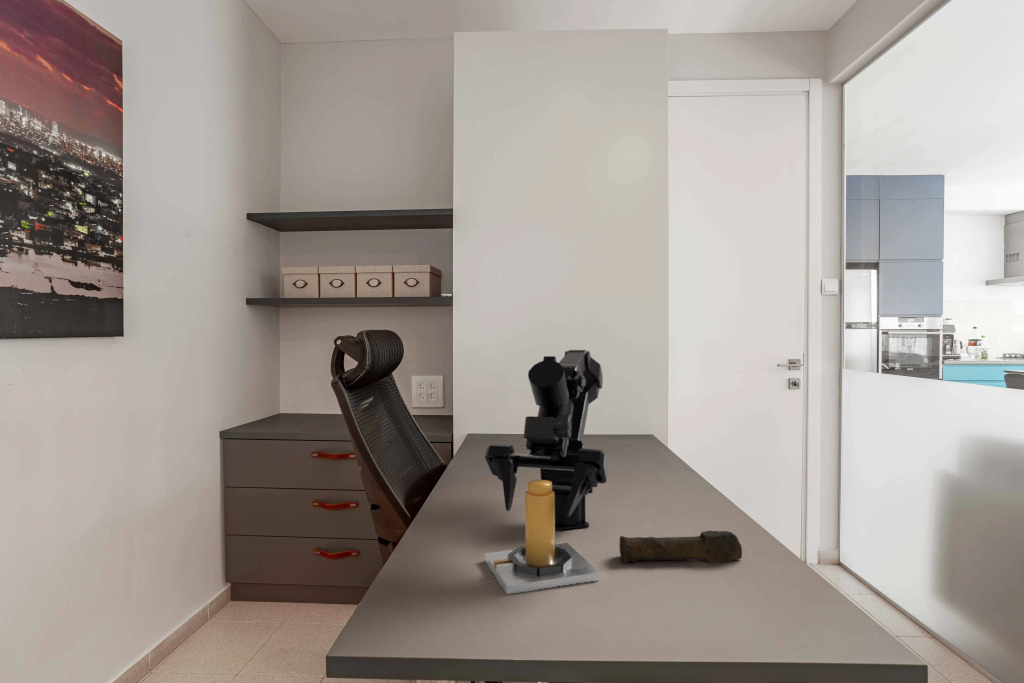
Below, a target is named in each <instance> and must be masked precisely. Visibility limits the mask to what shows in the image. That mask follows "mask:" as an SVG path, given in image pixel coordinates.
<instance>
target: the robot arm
mask: <svg viewBox="0 0 1024 683" xmlns="http://www.w3.org/2000/svg"><path fill="white" fill-rule="evenodd" d="M591 356H592V355H591V352H590V350H589V351H588V350H587V349H568V350H565V352H564V356H563V357H562V359H561V360H560V361H559V362H557V361H558V360H557V358H556V355H555V356H553V355H549V356H547V355H546V356H543V359H542V360H541V361H539V362H537V363H536V364H534V365H533V366H532V367H531V368H530V369H529V370H528V372H527V377H528V381H529V384H530V388H531V390H532V396H533V398H534V403H535V404H536V406H538V412H537V416H525V419H524V420H525V421H524V428H523V429H524V430H523V439H525V440H526V442H525V443H526V444H525V447H526V449H527V450H529V454H528V453H516V452H515V450H514V446H513V444H501V443H492V444H490V445H489V446H488V447H487V448H486V451H485V455H484V458H485V461H486V463H487V465H488V467H489V470H490V472H491V475H493V476H495V477H497V479H498V480H499V481H502V487H503V488H502V489H503V498H504V506H505V511H506V512H510V510H511V509H512V505H513V501H514V497H515V489H516V484H517V480H518V479H517V476H516V474H517V472H518V468H519V467H521V468H534V469H536V468H537V469H540V480H547V481H550V482H552V491H554V492H555V531H563V530H571V529H579V528H588V527H589V528H590V523H589V522H588V521H587V520H586V496H588V494H592V493H594V489H593V488H597V487H598V484H606V483H607V481H608V464H607V458H606V453H605V452H604V450H603V449H596V448H595V449H594V448H584V445H583V439H584V434H585V428H586V422H587V416H588V411H589V405H590V404H591V403H593V402H594V401H595V400H596V399H598V397H599V393H600V390H601V389H602V388H603V382H604V381H603V380H604V378H603V377H604V376H603V371H602V366H601V364H600V363H599V362H598V361H597V360H595V359H594V358H593V357H591Z"/></svg>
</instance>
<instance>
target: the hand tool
mask: <svg viewBox="0 0 1024 683" xmlns="http://www.w3.org/2000/svg"><path fill="white" fill-rule="evenodd" d="M619 554H620V560H621V562H623V563H624V564H625V563H627V562H633V563H637V561H654V560H657V561H658V560H662V561H663V560H666V561H668V560H702V562H703V561H704V562H705V563H707V564H718V563H719V564H720V563H724V562H725V563H726V562H733V561H737V560H741V559H742V557H743V556H742V554H743V547H742V544H741V543H740V541H739V539H738V536H737V535H736V534H734V533H733V532H732V531H728V530H721V531H719V530H706V531H705V530H704V531H701V532H700V535H699V536H671V537H670V536H668V537H654V536H649V537H642V536H641V537H640V536H639V537H638V536H637V537H636V536H635V537H627V536H623V535H620V536H619Z"/></svg>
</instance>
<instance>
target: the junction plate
mask: <svg viewBox="0 0 1024 683" xmlns="http://www.w3.org/2000/svg"><path fill="white" fill-rule="evenodd" d="M485 561H486V562H485ZM484 562H485V564H486V563H487V564H488V565H487V564H486V565H487V567H488V566H489V567H488V569H489V570H490V569H491V570H490V572H491V573H492V572H493V573H492V575H493V574H494V575H495V576H494V575H493V576H494V578H495V577H496V578H497V579H496V578H495V579H496V581H497V580H498V581H499V582H498V581H497V582H498V584H499V583H500V584H499V585H500V587H501V586H502V587H503V588H502V587H501V588H502V590H503V589H504V590H503V591H504V593H505V594H506V595H512V594H518V593H520V594H521V593H525V592H527V593H528V592H533V591H539V589H540V590H546V589H545V588H547V589H553V588H558V587H557V586H560V587H564V586H563V585H567V586H570V585H569V584H573V585H577V584H576V583H580V584H585V582H587V583H592V582H591V581H593V582H599V580H600V581H601V579H600V578H601V575H600V574H601V573H600V571H599V570H598V569H597V568H596V567H595V566H593V565H592V564H591V563H590V562H589V561H588V560H587V559H585V558H584V556H582V555H581V554H580V553H579V552H578V551H576V549H575V548H573V547H572V546H571V545H570V544H569V543H567V542H565V543H564V542H563V543H558V544H557V543H555V564H551V565H543V566H535V565H530V564H526V555H525V545H521V546H518V547H516V548H515V549H509V550H508V549H507V550H501V551H493V552H485V553H484ZM552 587H553V588H552Z"/></svg>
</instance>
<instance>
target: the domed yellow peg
mask: <svg viewBox="0 0 1024 683" xmlns="http://www.w3.org/2000/svg"><path fill="white" fill-rule="evenodd" d="M524 495H525V496H524V497H525V499H524V503H525V506H524V507H525V513H524V515H525V517H524V518H525V526H524V527H525V536H524V537H525V538H524V539H525V545H524V546H525V555H526V564H530V565H535V566H543V565H551V564H555V544H556V542H555V541H556V536H555V535H556V534H555V532H556V529H555V492H554V491H552V482H550V481H547V480H541V479H531V480H529V481H528V482H527V490H526V491H525V494H524Z"/></svg>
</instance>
